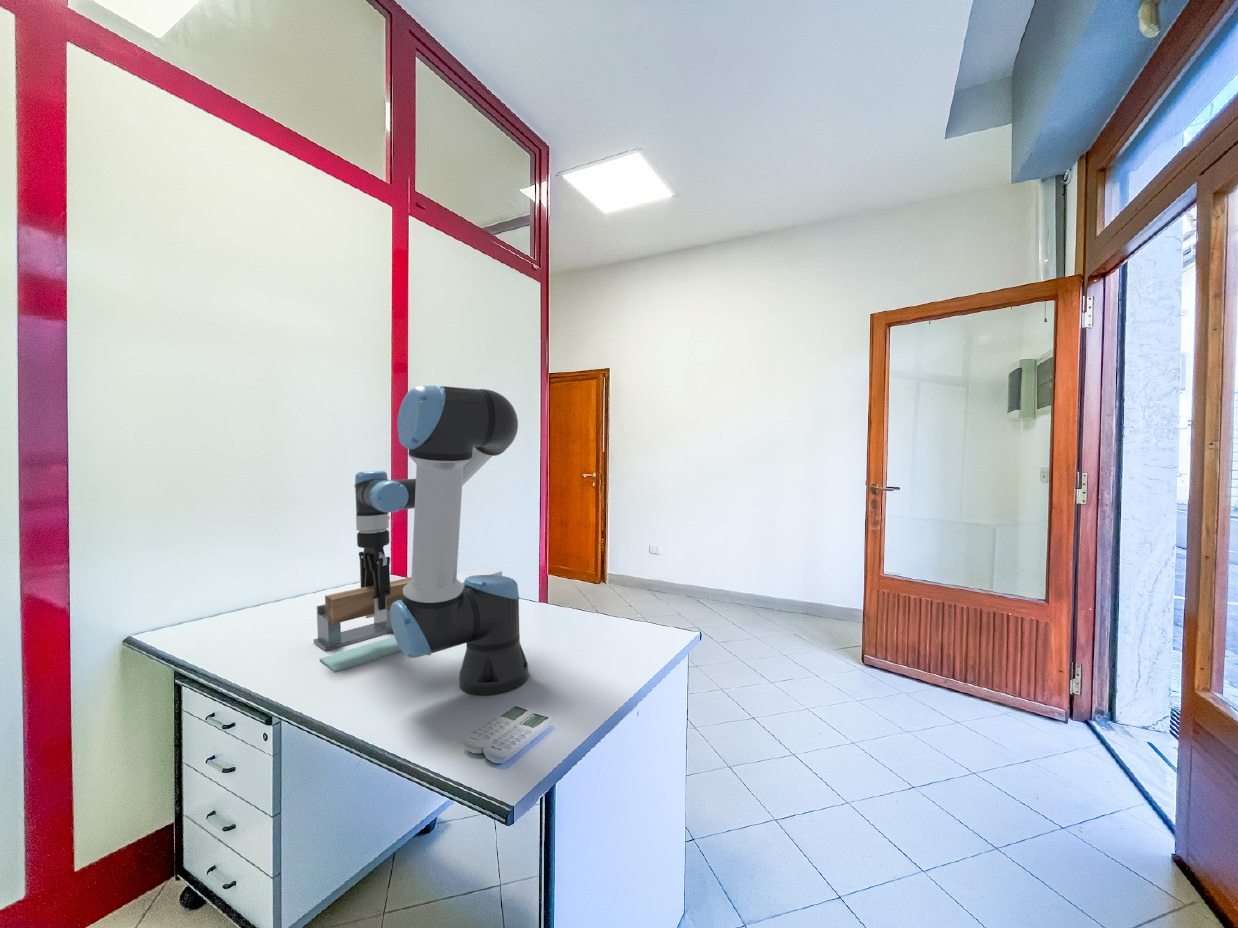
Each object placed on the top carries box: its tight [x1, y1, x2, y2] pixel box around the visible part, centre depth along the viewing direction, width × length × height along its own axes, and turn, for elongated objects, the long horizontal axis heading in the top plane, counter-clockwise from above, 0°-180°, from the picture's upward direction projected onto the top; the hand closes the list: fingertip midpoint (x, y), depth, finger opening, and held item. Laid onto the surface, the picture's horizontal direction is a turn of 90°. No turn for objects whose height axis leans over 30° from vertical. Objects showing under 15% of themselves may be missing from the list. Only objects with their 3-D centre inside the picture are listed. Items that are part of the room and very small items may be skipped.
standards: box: [312, 603, 393, 652], centre depth 140 cm, size 9×20×10 cm, turn 138°
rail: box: [324, 576, 412, 624], centre depth 129 cm, size 5×22×6 cm, turn 138°
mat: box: [319, 636, 402, 673], centre depth 129 cm, size 10×24×1 cm, turn 138°
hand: (376, 618), depth 129 cm, fingers closed on rail, 5 cm apart
